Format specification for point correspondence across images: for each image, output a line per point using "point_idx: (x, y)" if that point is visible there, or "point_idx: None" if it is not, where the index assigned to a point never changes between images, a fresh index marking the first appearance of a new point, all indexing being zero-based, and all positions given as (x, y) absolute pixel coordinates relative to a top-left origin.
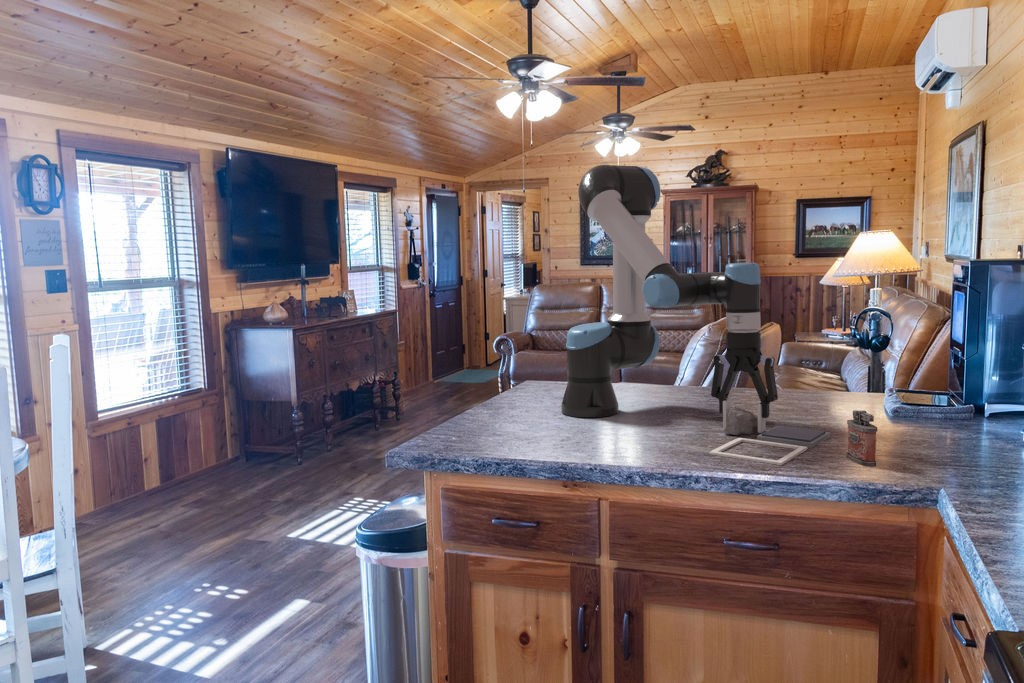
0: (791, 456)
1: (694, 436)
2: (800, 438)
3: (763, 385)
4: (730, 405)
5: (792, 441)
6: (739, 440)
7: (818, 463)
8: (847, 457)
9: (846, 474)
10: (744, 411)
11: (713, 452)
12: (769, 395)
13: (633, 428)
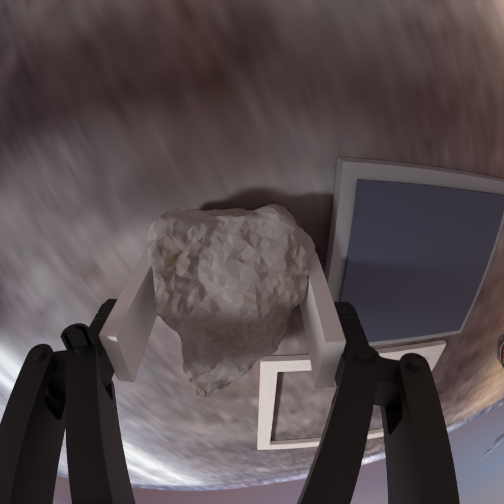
0: None
1: (137, 370)
2: (440, 328)
3: (361, 448)
4: (128, 317)
5: (418, 338)
6: (276, 381)
7: (446, 395)
8: (497, 347)
9: (469, 406)
10: (240, 354)
11: (266, 449)
12: (389, 420)
13: (2, 351)
